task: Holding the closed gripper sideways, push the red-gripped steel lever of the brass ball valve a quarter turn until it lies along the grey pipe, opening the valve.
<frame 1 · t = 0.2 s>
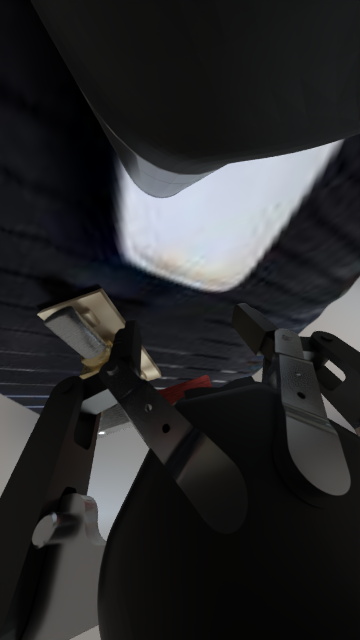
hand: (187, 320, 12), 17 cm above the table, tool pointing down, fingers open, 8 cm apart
mounting board: (116, 348, 36), on the table
valve lever: (150, 407, 23), point 16 cm above the table, hinge at 0.0°
valve line: (116, 348, 36), resting on mounting board
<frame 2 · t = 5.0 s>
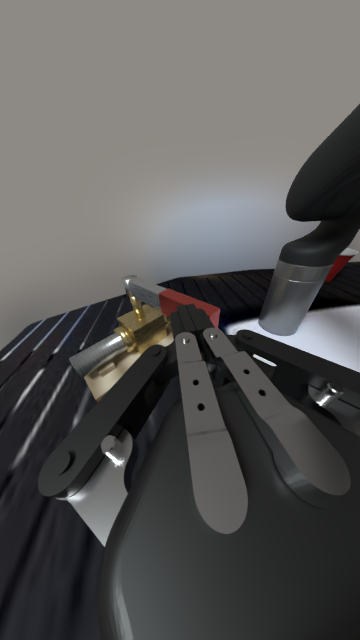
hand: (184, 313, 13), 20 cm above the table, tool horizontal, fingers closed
mounting board: (147, 342, 38), on the table
valve lever: (159, 298, 23), point 16 cm above the table, hinge at 0.0°
valve line: (147, 342, 38), resting on mounting board
plastic cup: (322, 279, 62), on the table
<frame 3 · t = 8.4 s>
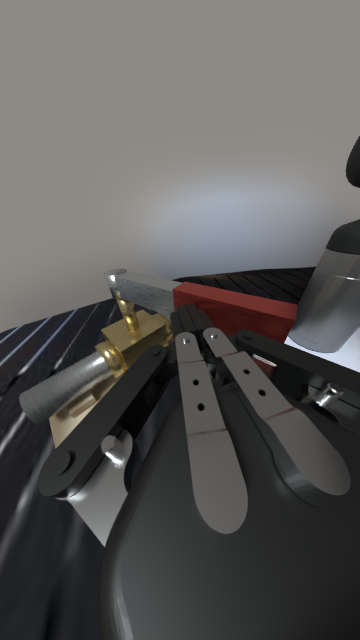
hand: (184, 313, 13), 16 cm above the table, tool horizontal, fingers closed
mounting board: (143, 360, 29), on the table
valve lever: (170, 298, 15), point 16 cm above the table, hinge at 9.3°, touching gripper
valve line: (143, 360, 29), resting on mounting board
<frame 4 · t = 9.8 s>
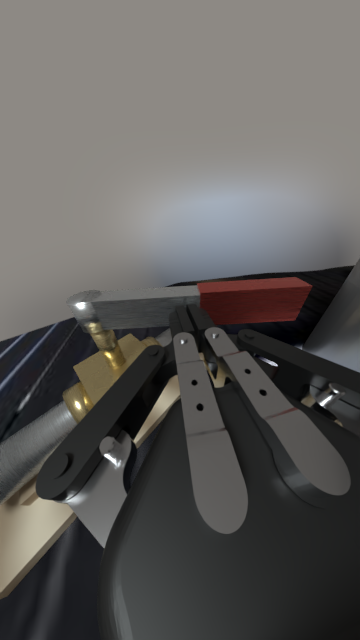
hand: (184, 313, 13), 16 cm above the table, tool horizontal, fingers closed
mounting board: (133, 395, 23), on the table
valve lever: (185, 305, 13), point 16 cm above the table, hinge at 44.7°, touching gripper
valve line: (133, 395, 23), resting on mounting board
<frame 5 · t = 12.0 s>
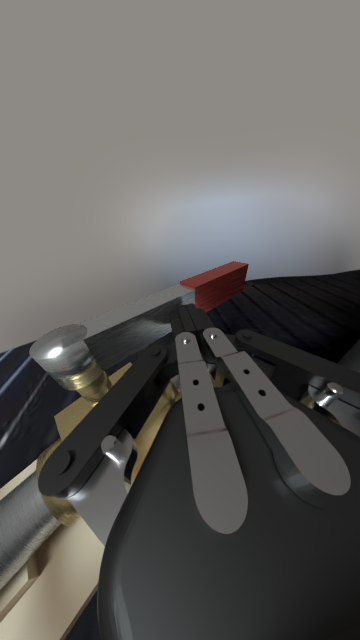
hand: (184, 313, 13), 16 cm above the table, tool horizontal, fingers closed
mounting board: (134, 437, 19), on the table
valve lever: (178, 305, 14), point 16 cm above the table, hinge at 83.7°, touching gripper
valve line: (134, 437, 19), resting on mounting board
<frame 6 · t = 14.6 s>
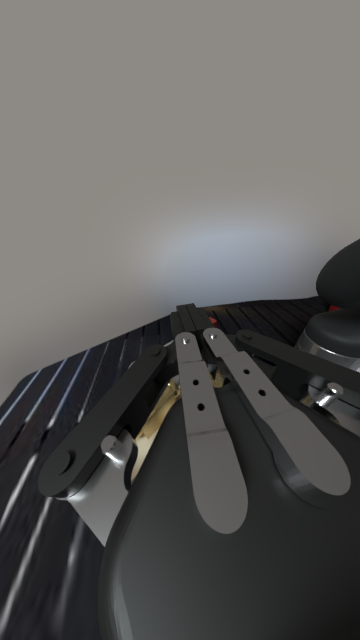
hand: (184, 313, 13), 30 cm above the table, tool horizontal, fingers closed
mounting board: (154, 413, 34), on the table
valve lever: (179, 346, 29), point 16 cm above the table, hinge at 83.8°
valve line: (154, 413, 34), resting on mounting board
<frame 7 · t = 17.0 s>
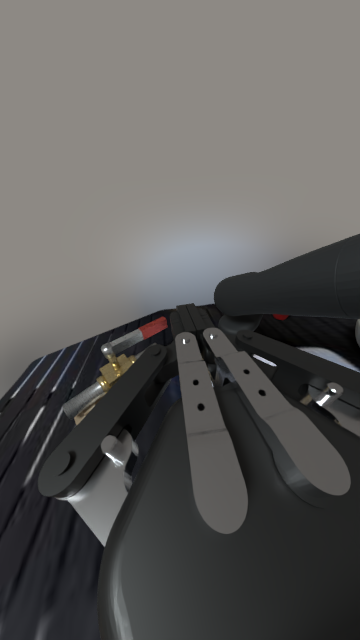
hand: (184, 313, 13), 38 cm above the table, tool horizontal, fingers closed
valve lever: (137, 335, 44), point 16 cm above the table, hinge at 83.8°
valve line: (124, 382, 49), resting on mounting board
plastic cup: (279, 317, 74), on the table
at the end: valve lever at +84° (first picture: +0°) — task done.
